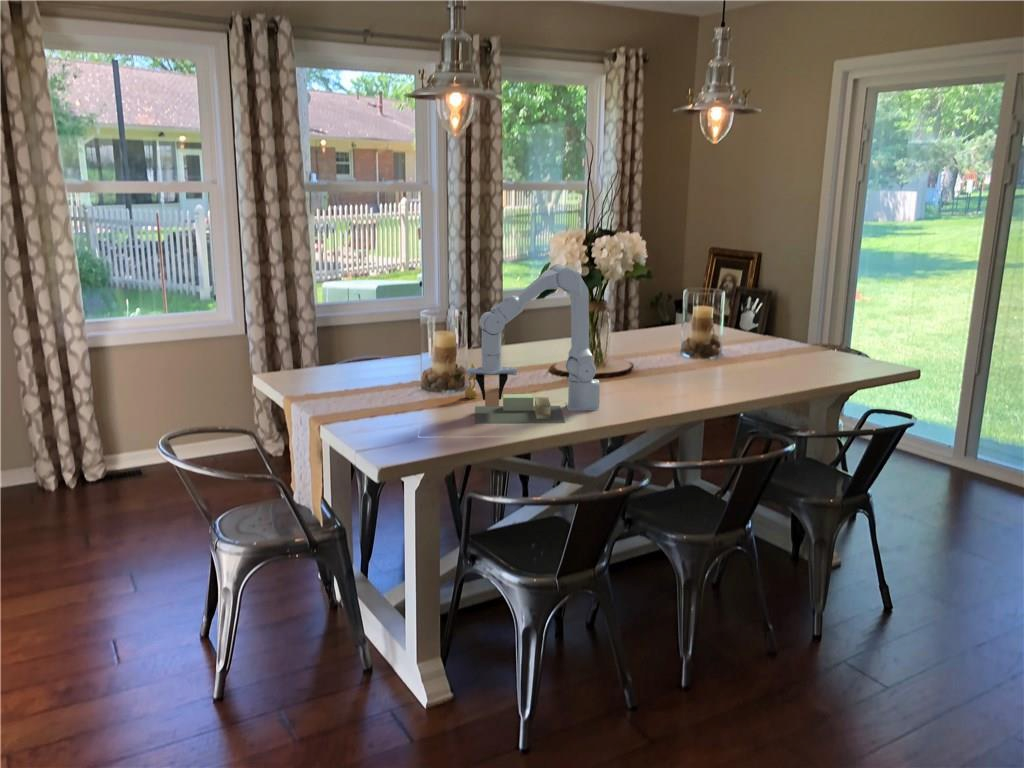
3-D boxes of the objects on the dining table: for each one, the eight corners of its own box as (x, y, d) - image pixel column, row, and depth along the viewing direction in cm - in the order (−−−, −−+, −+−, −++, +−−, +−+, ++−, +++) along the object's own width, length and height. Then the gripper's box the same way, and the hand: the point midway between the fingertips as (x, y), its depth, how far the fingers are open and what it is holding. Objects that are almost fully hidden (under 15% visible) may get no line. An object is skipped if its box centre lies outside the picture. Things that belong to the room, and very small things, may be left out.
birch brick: (548, 409, 251) (548, 397, 250) (550, 418, 242) (550, 405, 241) (534, 409, 251) (534, 397, 250) (536, 418, 242) (536, 405, 241)
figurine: (480, 396, 268) (480, 359, 265) (488, 400, 263) (488, 363, 260) (456, 399, 264) (456, 362, 261) (464, 403, 259) (463, 366, 256)
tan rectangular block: (498, 398, 250) (498, 385, 249) (499, 406, 241) (498, 393, 240) (485, 398, 250) (485, 385, 249) (485, 406, 241) (485, 393, 240)
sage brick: (532, 406, 254) (532, 394, 253) (533, 410, 250) (533, 397, 249) (503, 407, 254) (503, 394, 253) (503, 410, 250) (503, 397, 249)
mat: (560, 406, 256) (560, 405, 256) (565, 424, 238) (565, 422, 238) (475, 407, 255) (475, 406, 255) (474, 424, 237) (474, 423, 237)
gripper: (466, 356, 238) (466, 402, 241) (517, 356, 238) (517, 402, 241) (466, 351, 244) (467, 396, 248) (516, 351, 245) (516, 395, 248)
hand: (491, 398), depth 245 cm, fingers closed on tan rectangular block, 4 cm apart
